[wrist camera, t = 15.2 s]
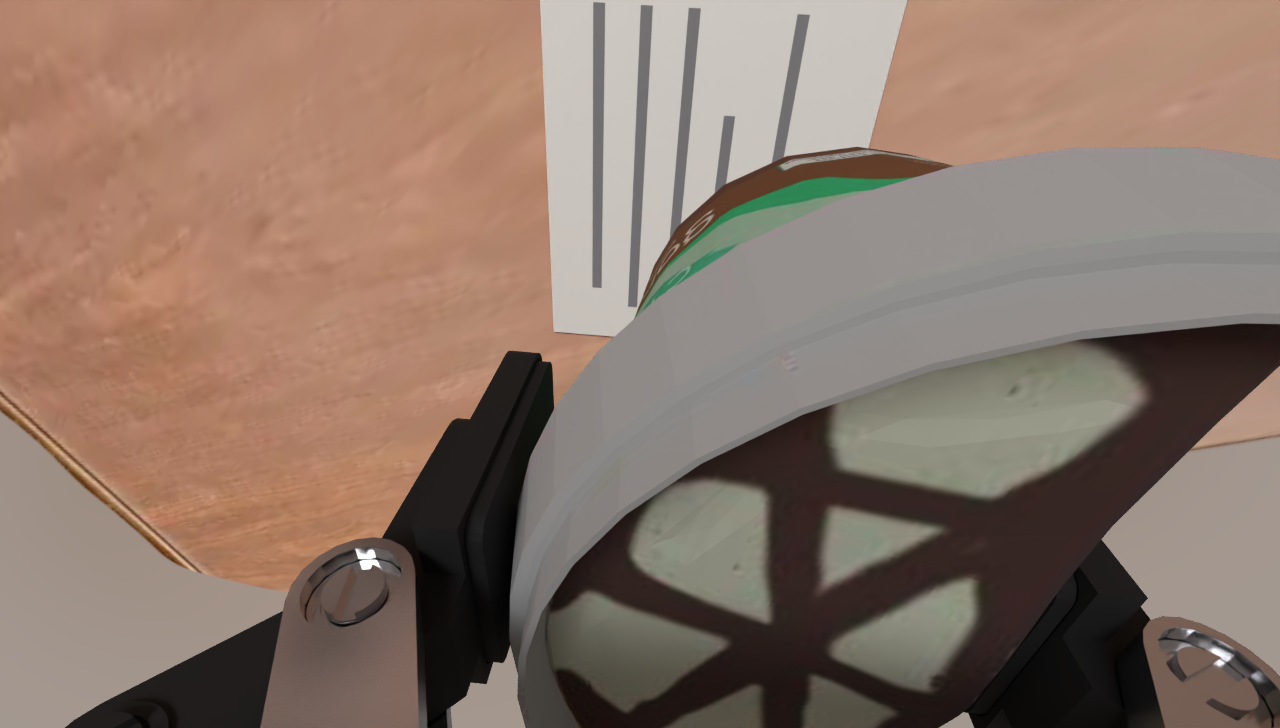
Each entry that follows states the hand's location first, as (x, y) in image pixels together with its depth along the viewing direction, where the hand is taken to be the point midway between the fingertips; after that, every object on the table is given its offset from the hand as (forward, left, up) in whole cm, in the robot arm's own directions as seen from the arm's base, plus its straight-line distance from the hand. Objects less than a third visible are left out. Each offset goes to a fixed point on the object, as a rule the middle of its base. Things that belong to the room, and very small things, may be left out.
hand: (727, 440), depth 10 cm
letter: (0, 0, -20) cm, 20 cm away
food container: (0, 0, -6) cm, 6 cm away
